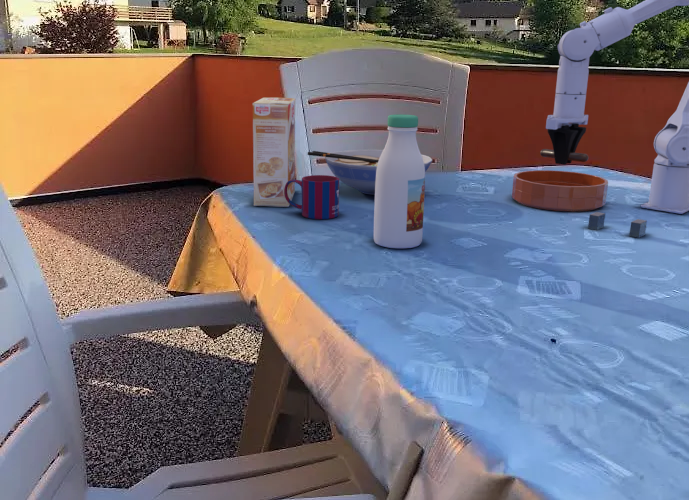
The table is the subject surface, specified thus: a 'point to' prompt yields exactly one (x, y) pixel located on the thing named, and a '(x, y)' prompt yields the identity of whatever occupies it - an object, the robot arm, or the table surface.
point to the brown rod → (572, 155)
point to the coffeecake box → (273, 150)
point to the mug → (317, 196)
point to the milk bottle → (400, 186)
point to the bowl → (559, 190)
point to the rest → (635, 230)
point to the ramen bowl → (357, 167)
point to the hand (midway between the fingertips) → (563, 163)
